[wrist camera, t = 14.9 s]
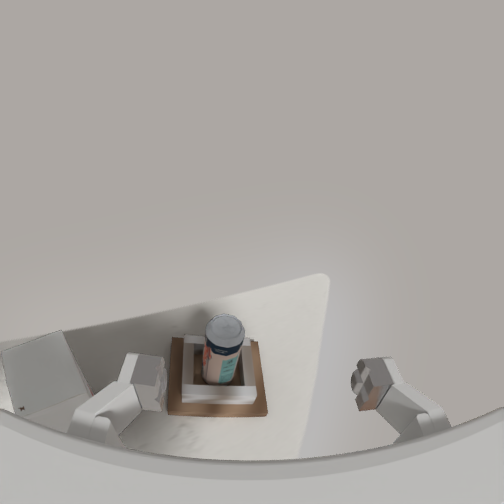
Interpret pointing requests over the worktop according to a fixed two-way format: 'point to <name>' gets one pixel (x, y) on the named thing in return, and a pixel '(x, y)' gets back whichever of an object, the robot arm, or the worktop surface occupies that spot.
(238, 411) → the socket base
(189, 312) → the worktop surface
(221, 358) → the beer can
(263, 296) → the worktop surface
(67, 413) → the supplement box
